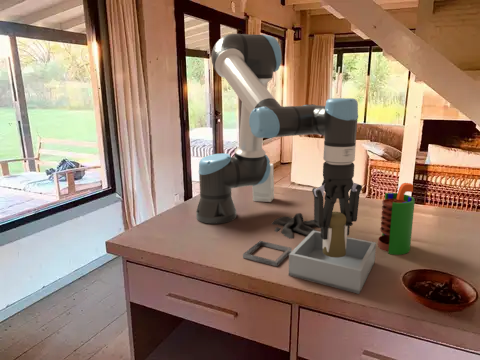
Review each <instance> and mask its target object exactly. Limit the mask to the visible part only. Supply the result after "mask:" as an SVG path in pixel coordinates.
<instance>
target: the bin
mask: <svg viewBox="0 0 480 360" xmlns="http://www.w3.org/2000/svg"><path fill="white" fill-rule="evenodd" d="M376 249H377V242H375V241H371V240H370V241H369V240H365V239H360V238H354V237H349V236H347V243H346V255H345V256H343V257H339V258H335V257H329V256H327V255H325V254H324V253H323V239H322V238H321V231H318V230H317V231H314V230H313V231H312V232H311V233H310V234H309V235H308V236H307V237H306V236H305V238H303V239H302V241H301V242H299V244H298V245H296V247H295V248H293V250H292V252H291V253H290V254H289V255H288V276H289V277H290V276H291V277H293V278H294V277H295V278H297V279H301V280H305V281H308V282H313V283H317V284H320V285H324V286H328V287H331V288H336V289H339V290H342V291H347V292H350V293H354V294H357V295H359V294H360V293H361V291H362V290H363V287H364V285H365V283H366V281H367V278H368V277H369V274H370V272H371V271H372V269H373V266H374V264H375V259H376Z"/></svg>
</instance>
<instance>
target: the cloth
mask: <svg viewBox="0 0 480 360" xmlns="http://www.w3.org/2000/svg"><path fill="white" fill-rule="evenodd" d="M271 225H276V226H280V227H274V232H275V233H278V232H280V231H281V230H282V231H281V234H282V235H283V236H284V237H285V238H287V239H291V240H292V239H294V238H295V235H294V233H298V234H301V235H303V236H305V238H306V237H307V236H308V235H309V234H310V233H311V232H312V231H313V230H314V231H318V230H316V229H315V228H318V229H321V227H319V226H318V225H316V224H315V223H314V219H311V220H305V219H304V216H303V214H302V213H300V212H298V213H296V214H295V215H294V216H293V217H291V216H286V215H285V216H281V217H278V218H276V219H274V220H273V221H272V222H271ZM281 227H282V229H281Z"/></svg>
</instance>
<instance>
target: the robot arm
mask: <svg viewBox="0 0 480 360" xmlns="http://www.w3.org/2000/svg"><path fill="white" fill-rule="evenodd" d="M211 63H212V67H213V69H214V71H215V72H216V74H218V76H220V77H221V78H223V79H225V80H226V82H227V83H228V85H229V86H230V87H231V89H232V90H233V92H234V93H235V94H236V95H237V97H238V99H240V101H241V109H240V122H239V125H240V126H239V127H240V128H239V141H238V146H237V148H235V149H234V156H231V155H230V154H229V153H225V152H224V153H214V154H211V155H207V156H204V157H202V158H201V159H200V160H199V162H198V179H199V180H198V181H199V196H200V197H199V201H198V204H197V208H196V212H195V213H196V220H197V221H199V222H201V223H205V224H210V225H212V224H213V225H214V224H215V225H216V224H217V225H218V224H225V223H229V222H232V221H234V220H235V219H236V218H237V209H236V206H235V203H234V200H233V197H232V189H237V188H242V187H252V186H255V185H258V184H262V183H264V182H265V181H266V180H267V179H268V177H269V175H270V169H271V166H270V164H271V161H270V158H269V156H268V155H266V153H267V152H266V150H264V149H263V143H264V142H263V141H264V140H263V139H264V138H265V139H266V138H267V139H273V138H281V137H292V136H305V135H306V136H307V135H320V136H324V142H323V156H322V157H323V160H324V162H323V164H322V177H323V181H322V183H321V186H319V187H313V188H312V190H311V191H312V196H313V200H314V201H313V220H314V223H315V224H316V225H318V226H319V227H321V228H320V232H321V238H322V239H323V249H324V247H326V249H327V252H329V248H330V243H331V234H332V228H330V227H329V225H330V221H331V216H332V212H334V208H335V204H336V203H337V200H338V203H339V209H340V211H339V212H341V213H343V214H344V215H345V216H346V224H345V225H344V236H345V248H346V243H347V237H349V236H350V228H351V227H352V226H353V225H354V223H356V222H357V220H358V215H359V213H358V211H359V203H360V202H359V201H360V194H361V192H362V189H363V185H362V184H359V183H355V182H354V180H353V178H354V175H355V164H354V161H355V160H356V146H357V145H356V143H357V131H358V130H357V129H358V119H359V111H358V110H359V108H358V107H359V103H358V101H357V99H355V98H349V97H342V98H340V97H339V98H338V97H335V98H333V97H331V98H328V99H326V101H325V105H317V104H304V105H289V106H288V105H287V106H286V105H285V106H282V105H280V103H279V102H278V101H277V100H276V98H275V97H274V96H273V95H272V93H271V92H270V91H269V90H268V84H269V83H270V81H271V80H273V78H274V77H273V76H274V73H275V72H277V71H278V70H279V69H280V66H281V65H282V50H281V46H280V44H279V41H278V40H277V39H276V38H275V37H274V36H271V35H266V34H249V33H248V34H247V33H242V34H241V33H229V34H228V33H227V34H226V35H224V36H222V37H221V38H220V39H218V40H217V41H216V42H215V44H214V46H213V48H212V51H211ZM324 193H325V194H324ZM353 222H354V223H353Z"/></svg>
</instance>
